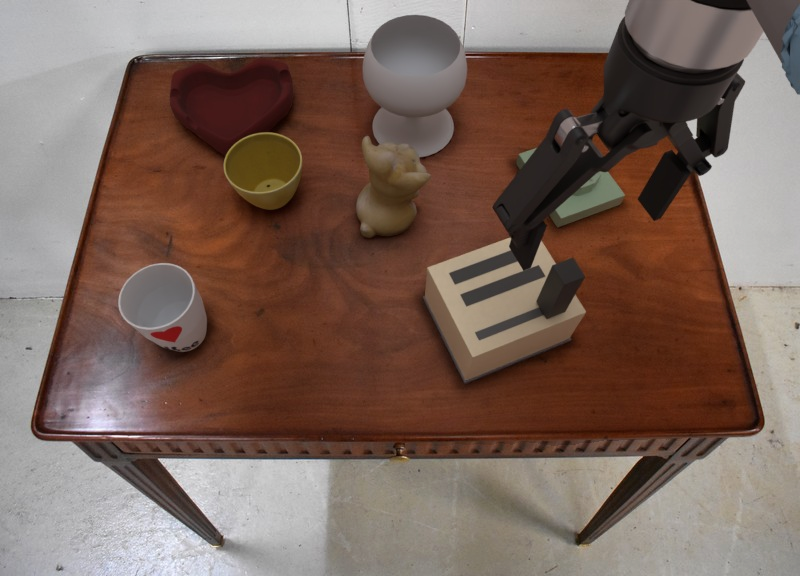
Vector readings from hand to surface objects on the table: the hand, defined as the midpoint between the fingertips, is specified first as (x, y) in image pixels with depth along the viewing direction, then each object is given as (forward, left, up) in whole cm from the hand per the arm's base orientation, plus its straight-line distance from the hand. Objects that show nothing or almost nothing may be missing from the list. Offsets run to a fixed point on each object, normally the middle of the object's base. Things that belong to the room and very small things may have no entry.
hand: (585, 232), depth 54 cm
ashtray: (+47, +25, -22) cm, 58 cm away
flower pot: (+32, +24, -22) cm, 46 cm away
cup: (+16, +40, -22) cm, 49 cm away
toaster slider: (-1, 0, -13) cm, 14 cm away
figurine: (+22, +10, -22) cm, 33 cm away
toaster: (+3, +4, -22) cm, 22 cm away
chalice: (+36, +1, -22) cm, 43 cm away
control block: (+18, -15, -22) cm, 32 cm away
